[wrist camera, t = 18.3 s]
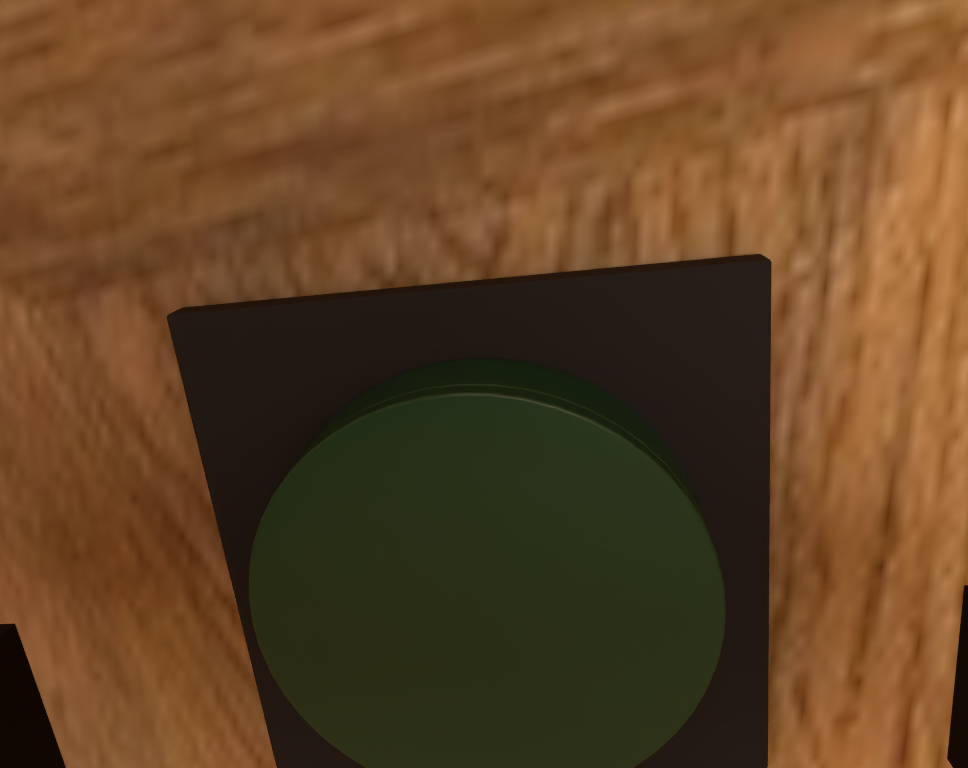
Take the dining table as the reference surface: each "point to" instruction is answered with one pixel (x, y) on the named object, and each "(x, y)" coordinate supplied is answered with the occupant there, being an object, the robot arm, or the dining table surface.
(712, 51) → the dining table surface
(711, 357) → the coaster
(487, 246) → the dining table surface
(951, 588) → the dining table surface
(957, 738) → the robot arm
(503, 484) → the jar lid
